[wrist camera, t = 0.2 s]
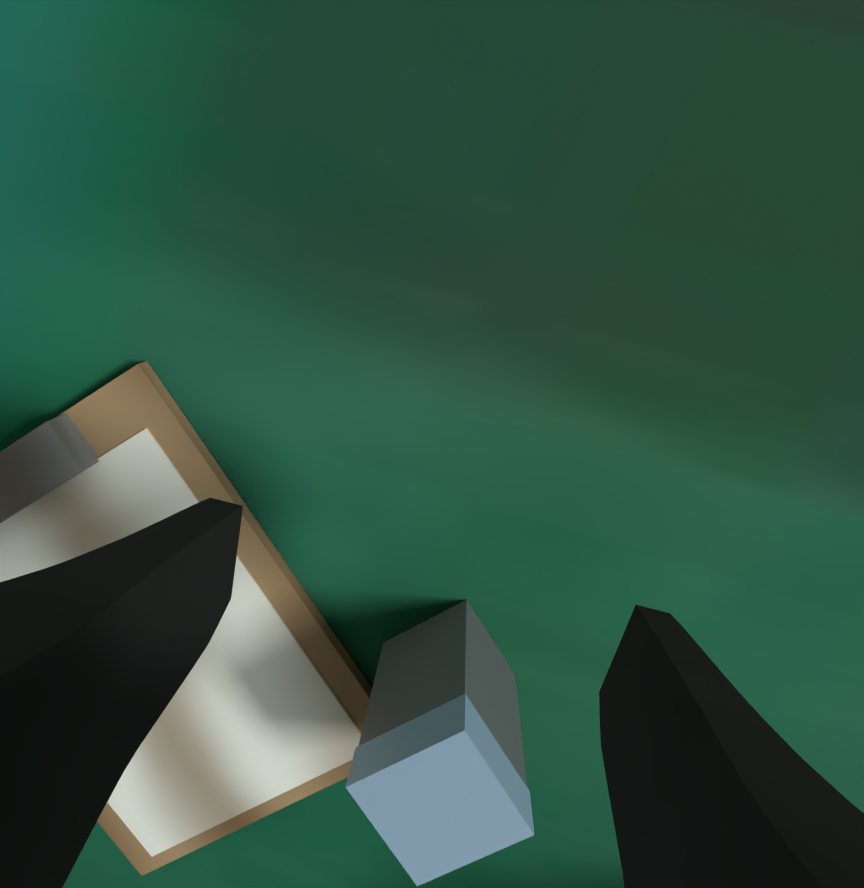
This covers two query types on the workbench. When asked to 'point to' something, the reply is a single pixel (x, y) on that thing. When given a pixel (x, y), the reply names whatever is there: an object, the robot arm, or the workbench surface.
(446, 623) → the block
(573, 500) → the workbench surface
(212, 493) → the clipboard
